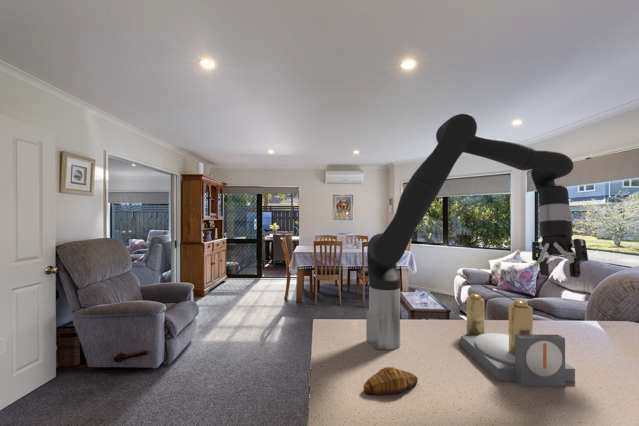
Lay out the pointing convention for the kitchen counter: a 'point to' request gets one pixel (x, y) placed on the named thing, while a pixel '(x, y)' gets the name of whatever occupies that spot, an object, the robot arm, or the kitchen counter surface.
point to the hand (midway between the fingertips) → (559, 276)
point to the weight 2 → (519, 321)
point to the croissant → (389, 381)
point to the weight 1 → (475, 315)
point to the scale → (522, 358)
